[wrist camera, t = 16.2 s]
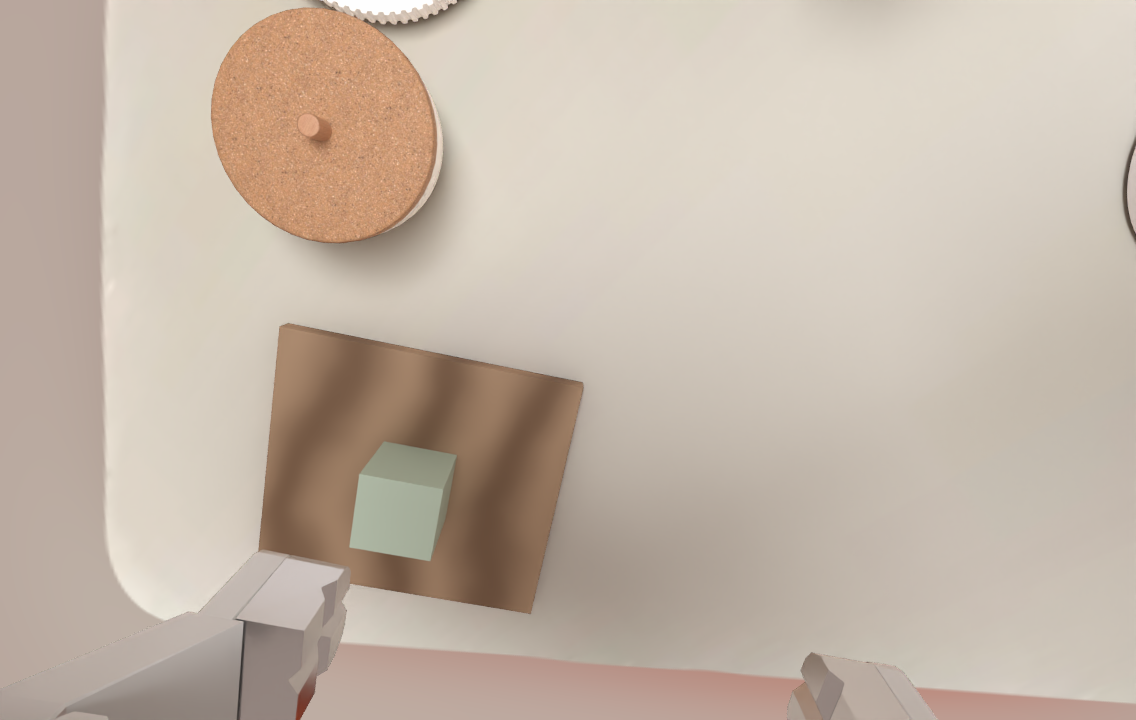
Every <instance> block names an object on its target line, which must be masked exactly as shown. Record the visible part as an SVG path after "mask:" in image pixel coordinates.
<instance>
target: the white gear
mask: <svg viewBox="0 0 1136 720" xmlns="http://www.w3.org/2000/svg"><path fill="white" fill-rule="evenodd" d="M320 1H324V2H325V3H326V4H327V5H328V6H329V7H334V8H335V9H336V10H337V11H339V12H343V11H344V12H345V13H346V14H348V15H351V16H354V15H355V16H356V17H357V18H358V19H361V20H363V21H364V19H365V18H367V19H368V20H369V21H370V22H372V23H375V21H376V20H378V21H379V22H380V23H381V24H386V22H387V21H390V22H391V23H392V24H397V21H401V22H402V23H403V24H405V23H408V20H411V19H412V20H413V22H416V21H418V18H419V17H423V18H424V19H426V18H428V15H429V14H431V13H433V15H436V14H438V10H440V9H443V10H446V9H448V4H450V3H452V4H453V5H454V4H455V3H457V0H320Z"/></svg>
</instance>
